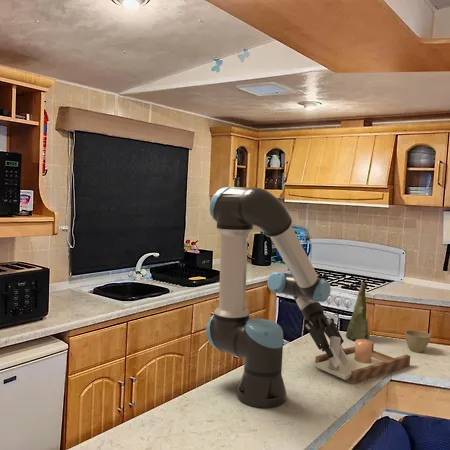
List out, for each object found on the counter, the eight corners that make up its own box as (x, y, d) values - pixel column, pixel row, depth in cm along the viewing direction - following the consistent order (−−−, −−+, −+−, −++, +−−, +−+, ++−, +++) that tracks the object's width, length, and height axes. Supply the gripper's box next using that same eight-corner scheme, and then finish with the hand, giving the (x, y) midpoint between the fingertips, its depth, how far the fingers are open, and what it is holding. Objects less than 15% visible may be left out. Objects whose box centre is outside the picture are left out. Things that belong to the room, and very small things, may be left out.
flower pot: (425, 356, 191) (427, 339, 190) (400, 350, 197) (401, 333, 196) (432, 350, 199) (433, 333, 198) (407, 344, 205) (408, 328, 204)
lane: (354, 384, 160) (355, 372, 160) (315, 366, 175) (315, 356, 174) (409, 366, 179) (410, 355, 179) (369, 351, 194) (370, 342, 193)
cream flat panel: (344, 379, 161) (347, 344, 160) (315, 366, 172) (316, 333, 171) (388, 366, 175) (390, 333, 174) (358, 354, 186) (359, 324, 185)
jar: (354, 361, 174) (355, 343, 174) (354, 356, 180) (355, 338, 179) (371, 364, 173) (372, 345, 172) (370, 358, 179) (371, 340, 178)
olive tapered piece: (359, 333, 218) (362, 279, 216) (377, 341, 207) (381, 285, 205) (339, 335, 214) (342, 280, 212) (356, 344, 203) (360, 286, 201)
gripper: (320, 309, 183) (351, 365, 171) (288, 314, 173) (319, 374, 161) (331, 298, 179) (364, 355, 166) (299, 303, 169) (332, 363, 157)
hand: (342, 364), depth 164 cm, fingers closed on cream flat panel, 4 cm apart
